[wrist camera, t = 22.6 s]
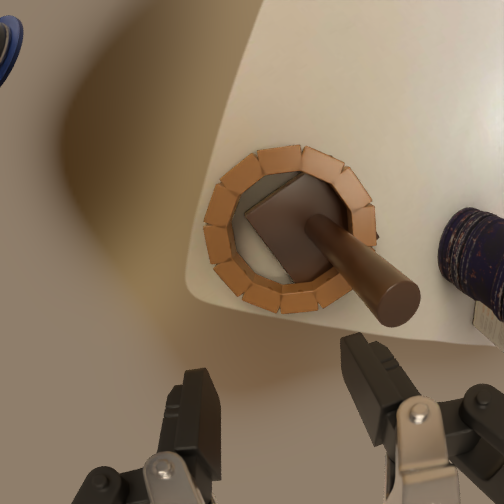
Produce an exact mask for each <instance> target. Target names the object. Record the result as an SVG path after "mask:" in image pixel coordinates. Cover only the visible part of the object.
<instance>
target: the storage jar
mask: <svg viewBox="0 0 504 504" xmlns="http://www.w3.org/2000/svg"><path fill="white" fill-rule="evenodd" d="M438 264H439V268H440V271H441V273H442V275H443V276H444V278H445V279H447V280H448V281H449V282H451V283H453V284H454V285H455V286H456V287H457V288H458V289H459V290H460V291H462V292H463V293H464V294H466V295H468V296H469V297H471V298H472V299H474V300H476V301H480V302H481V303H483V304H484V305H485V306H487V307H488V308H489V309H491V310H492V311H493V313H494V315H495V316H496V317H497V319H498V320H499V321H501V322H503V323H504V219H503V218H500V217H498V216H497V215H495V214H492V213H489V212H484V211H480V210H478V209H475V208H470V207H469V208H464V209H462V210H460V211H459V212H457V213H456V214H455V215H454V216H453V217H452V218H451V219H450V221H449V222H448V224H447V225H446V227H445V229H444V231H443V234H442V236H441V240H440V243H439V249H438Z"/></svg>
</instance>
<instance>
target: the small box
mask: <svg viewBox="0 0 504 504" xmlns="http://www.w3.org/2000/svg"><path fill="white" fill-rule="evenodd" d="M473 325H474V326H475V327H476V328H477V329H478V330H479V331H480V332H482V333H483V334H484V335H485V336H486V337H487V338H488V339H489V340H490V341H492V342H493V343H494V344H495V345H496V346H497V347H498V348H499V349H500V350H501V351H502V352H503V353H504V323H503V322H501V321H499V320H498V319H497V317H496V316H495V315H494V313H493V311H492V310H491V309H489V308H488V307H487V306H485V305H484V304H483V303H481V302H480V301H476V306H475V314H474V321H473Z"/></svg>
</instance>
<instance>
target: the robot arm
mask: <svg viewBox="0 0 504 504" xmlns="http://www.w3.org/2000/svg"><path fill="white" fill-rule="evenodd" d="M11 38H12V33H11V29H10V27H9V26H8V25H6V24H4V23H1V22H0V69H1V67H2V65H3V63H4V61H5V59H6V57H7V54H8V51H9V48H10V44H11ZM340 348H341V369H342V374H343V378H344V381H345V383H346V386H347V388H348V390H349V392H350V394H351V396H352V399H353V401H354V403H355V405H356V407H357V410H358V412H359V414H360V416H361V418H362V420H363V423H364V425H365V427H366V429H367V432H368V434H369V436H370V438H371V441H372V443H373V445H374V447H375V446H378V445H381V444H383V445H384V447H385V449H386V451H387V452H386V456H385V485H384V500H383V504H460V489H459V478H458V471H457V468H458V469H459V470H460V471H461V472H463V473H464V474H465V475H466V476H467V477H468V478H469V479H470V480H471V481H472V482H473V483H474V484H475V485H476V486H477V487H479V489H480V490H482V491H483V492H484V493H485V494H486V495H487V496H488V497H489V498H490V499H491V500H492V501H493V502H494V503H495V504H504V394H503V393H501V392H500V391H499V390H497V389H496V388H494V387H493V386H491V385H488V384H477V385H474V386H472V387H471V388H469V389H468V390H467V392H466V393H465V396H464V398H461V399H456V400H451V401H446V402H436V401H435V400H434V399H432V398H430V397H427V396H422V395H421V394H420V393H419V392H418V390H417V389H416V387H415V386H414V385H413V383H412V382H411V380H410V379H409V377H408V376H407V375H406V373H405V372H404V370H403V369H402V367H401V366H399V363H398V362H397V360H396V359H394V356H393V355H392V354H391V352H390V350H389V349H388V348H387V347H385V346H384V345H382V344H381V343H379V342H377V341H375V342H372V343H369V344H368V342H367V341H366V339H365V338H364V336H363V335H362V333H360V332H358V333H356V334H352V335H349V336H345V337H342V338H341V339H340ZM449 460H450V461H451V462H452V463H453V464H451V463H450V462H449ZM456 467H457V468H456ZM219 480H221V406H220V400H219V397H218V394H217V392H216V389H215V387H214V385H213V383H212V380H211V378H210V376H209V373H208V371H207V369H206V368H200V369H194V370H186V371H185V374H184V380H183V385H175V386H174V387H173V389H172V390H171V392H170V393H169V395H168V397H167V401H166V409H165V412H164V418H163V423H162V429H161V433H160V439H159V445H158V450H157V453H156V454H154V455H152V456H151V457H150V458H149V459H148V460H147V461H146V462H145V464H144V467H143V468H140V469H137V470H133V471H129V472H125V473H120V474H119V473H118V472H117V471H116V470H114V469H113V468H111V467H107V466H101V467H97V468H95V469H93V470H92V471H91V472H90V473H89V474H88V475H87V477H86V479H85V480H84V482H83V484H82V486H81V487H80V489H79V491H78V493H77V495H76V496H75V498H74V500H73V502H72V504H218V502H217V500H216V498H215V496H214V494H213V493H212V481H219Z"/></svg>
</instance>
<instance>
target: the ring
mask: <svg viewBox="0 0 504 504" xmlns="http://www.w3.org/2000/svg"><path fill="white" fill-rule="evenodd" d="M257 154H258V157H257V156H256V154H255V153H251V154H250V155H248V156H247V157H246V158H245V159H243V160H242V161H241V162H240V163H239V164H237V165H236V166H235V167H234V168H232V169H231V170H230V171H229V172H228V173H226V174H225V175H224V176H223V177H222V178H220V181H221V183H218V184H216V186H215V189H214V192H213V195H212V197H211V200H210V203H209V206H208V209H207V212H206V215H205V218H204V222H205V223H207V224H206V225H205V226H204V227H203V230H204V235H205V240H206V244H207V249H208V254H209V259H210V264H216V265H215V267H214V268H213V269H214V271H215V272H216V273H217V274H218V275H219V276H220V278H221V279H222V280H223V281H224V282H225V283H226V284H227V286H228V287H229V288H230V289H231V290H232V291H233V293H234V294H235V295H236V296H237V297H238V296H240V295H241V294H243V293H244V294H243V297H242V300H243V301H245V302H248V303H250V304H253V305H256V306H258V307H261V308H263V309H266V310H268V311H271V312H274V313H277V311H278V309H279V307H280V309H281V314H288V313H298V312H308V311H317V310H318V303H319V304H320V306H321V307H322V308H325V307H326V306H328V305H330V304H331V303H333V302H334V301H336V300H337V299H339V298H340V297H342V296H343V295H345V294H346V293H348V292H349V291H351V290H352V287H351V286H350V285H349V284H348V283H347V282H346V280H345V279H344V278H343V277H342V276H341V274H340V273H339V272H338V271H337V270H336V268H335V267H332V268H331V269H330V270H328V271H327V272H325V273H324V274H322V275H321V276H319V277H318V278H316V279H315V280H313V281H312V282H304V283H295V284H286V285H282V284H279V283H277V282H274V281H272V280H269V279H267V278H264V277H262V276H259V275H257V274H255V273H254V272H253V271H252V269H251V268H250V267H249V266H248V265H247V263H246V262H245V261H244V260H243V259H242V257H241V256H240V255H239V254H238V253H237V251H236V246H235V240H234V234H233V229H232V223H231V222H232V219H233V216H234V214H235V211H236V208H237V206H238V203H239V200H240V198H241V195H242V193H243V192H245V191H246V190H247V189H248V188H250V187H251V186H252V185H253V184H255V183H256V182H257V181H258V180H260V179H261V178H262V177H264V176H265V175H271V174H278V173H286V172H294V171H302V172H304V173H306V174H309V175H311V176H313V177H316V178H318V179H320V180H322V181H325V182H327V183H329V184H330V185H331V187H332V188H333V189H334V191H335V192H336V194H337V195H338V196H339V198H340V199H341V201H342V202H343V203H344V205H345V206H346V208H347V217H348V230H349V233H350V234H352V235H353V236H354V237H356V238H357V239H358V240H360V241H361V242H362V243H364V244H365V245H366V246H368V247H369V248H370V249H372V250H373V251H374V252H375V250H374V249H373V248H372V246H376V221H375V206H373V205H372V204H370V202H372V199H371V197H370V196H369V194H368V193H367V191H366V190H365V188H364V187H363V185H362V184H361V182H360V181H359V180H358V178H357V177H356V175H355V174H354V172H353V171H352V170H351V168H350V167H346V166H344V164H345V163H344V162H342V161H340V160H338V159H335V158H333V157H331V156H329V155H326V154H324V153H322V152H320V151H317V150H315V149H313V148H310V147H308V146H305V147H304V148H303V151H302V153H301V148H300V145H293V146H285V147H278V148H271V149H264V150H258V151H257Z"/></svg>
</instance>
